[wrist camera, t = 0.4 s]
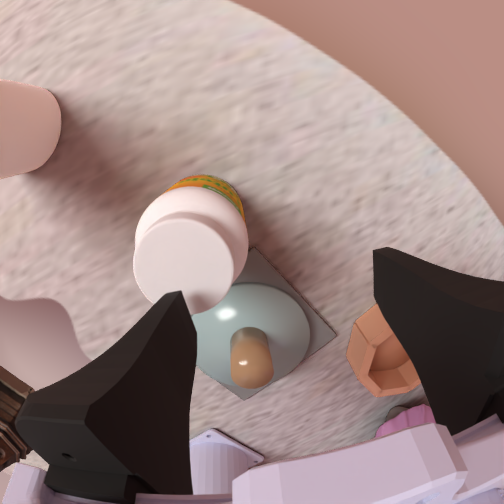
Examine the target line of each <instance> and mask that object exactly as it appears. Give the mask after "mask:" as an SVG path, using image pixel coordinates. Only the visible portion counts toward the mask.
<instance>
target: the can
mask: <svg viewBox="0 0 504 504" xmlns="http://www.w3.org/2000/svg"><path fill="white" fill-rule="evenodd" d="M60 132H61V112H60V108H59V105H58V102H57V100H56V99H55V97H54V96H53V95H52V94H51V93H50V92H49V91H48V90H46V89H44V88H42V87H38V86H34V85H29V84H25V83H20V82H15V81H9V80H4V79H0V179H3V178H7V177H11V176H15V175H19V174H23V173H26V172H30V171H33V170H35V169H37V168H39V167H41V166H42V165H43V164H44V163H45V162H46V161H47V160H48V159H49V158H50V156H51V155H52V153H53V152H54V150H55V148H56V145H57V143H58V140H59V136H60Z"/></svg>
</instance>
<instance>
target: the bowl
mask: <svg viewBox="0 0 504 504" xmlns="http://www.w3.org/2000/svg"><path fill="white" fill-rule="evenodd" d="M355 322H356V323H354V325H353V329H352V333H351V337H350V341H349V345H348V349H347V353H346V357H347V359H348V361H349V363H350V365H351V367H352V369H353V371H354V373H355V375H356V377H357V379H358V380H359V381H360V382H361V383H362V384H363V385H364V386H365V387H366V388H367V389H368V390H369V391H370V392H371V393H372V394H373V395H374V396H375V397H376V396H377V397H383V396H389V395H395V394H401V393H407V392H409V391H411V390H412V389H414V388H415V387H416V386H418V385H419V384H420V383H421V381H420V379H419V376H418V374H417V372H416V370H415V367H414V365H413V363H412V362H411V360H410V358H409V356H408V355H407V353H406V351H405V350H404V348H403V347H402V345H401V343H400V342H399V340H398V339H397V337H396V336H395V334H394V333H393V331H392V329H391V328H390V326H389V325H388V323H387V322H386V320H385V318H384V317H383V315H382V313H381V311H380V309H379V307H378V304H377V303H376V304H375V305H374V306H373V307H372V308H370V309H369V310H368V311H367V312H366V313H364V314H363V315H362V316H361V317H359V318H358V319H357V320H356V321H355Z"/></svg>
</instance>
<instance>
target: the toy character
mask: <svg viewBox="0 0 504 504" xmlns="http://www.w3.org/2000/svg"><path fill="white" fill-rule="evenodd" d="M428 422H429V423H436V422H435V419H434V416H433V413H432V410H431V407H429V406H427V405H425V404H421V405H419V406H415V407H412V408H410V409H408V408H405V407H400V406H398V407H394V408H392V409H391V410H390V411H389V413H388V415H387V418H386V421H385V423H384V424H383V425H381V426H380V427H379V429H378V430H377V432H376V436H375V438H377V437H380V436H383V435H386V434H389V433H392V432H395V431H398V430H401V429H404V428H407V427H411V426H415V425H420V424H424V423H428Z"/></svg>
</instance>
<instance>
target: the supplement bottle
mask: <svg viewBox="0 0 504 504" xmlns="http://www.w3.org/2000/svg"><path fill="white" fill-rule="evenodd" d="M248 246H249V243H248V233H247V227H246V223H245V217H244V211H243V206H242V203H241V200H240V198H239V196H238V194H237V193H236V191H235V190H234V189H233V188H232V187H231V186H230V185H229V184H228V183H227V182H225V181H224V180H222V179H220V178H218V177H215V176H212V175H206V174H198V175H192V176H189V177H186V178H184V179H182V180H180V181H179V182H177V183H176V184H175V185H173V186H172V187H171V188H169V189H168V190H167V191H166V192H164V193H163V194H162V195H160V196H159V197H158V198H156V199H155V200H154V201H153V202H152V203H151V204H150V205H149V206H148V208H147V209H146V210H145V211H144V213H143V215H142V216H141V218H140V221H139V223H138V226H137V229H136V235H135V252H134V257H133V270H134V275H135V279H136V282H137V284H138V286H139V288H140V290H141V291H142V292H143V294H144V295H145V296H146V297H147V298H148V299H149V300H150V301H151V302H152V303H153V304H155V303H156V302H157V301H158V300H159V299H160V298H161V297H162V296H163V295H164V294H166V293H169V292H174V291H180V290H181V291H182V293H183V296H184V299H185V302H186V304H187V307H188V310H189V312H190V315H192V314H198V313H202V312H205V311H207V310H209V309H211V308H213V307H214V306H216V305H217V304H218V303H220V302H221V301H222V300H223V299H224V297H225V296H226V295H227V293H228V292H229V290H230V288H231V285H232V283H233V282H234V281H235V280H236V279H237V277H238V276H239V275H240V273H241V271H242V270H243V268H244V265H245V263H246V259H247V255H248Z"/></svg>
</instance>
